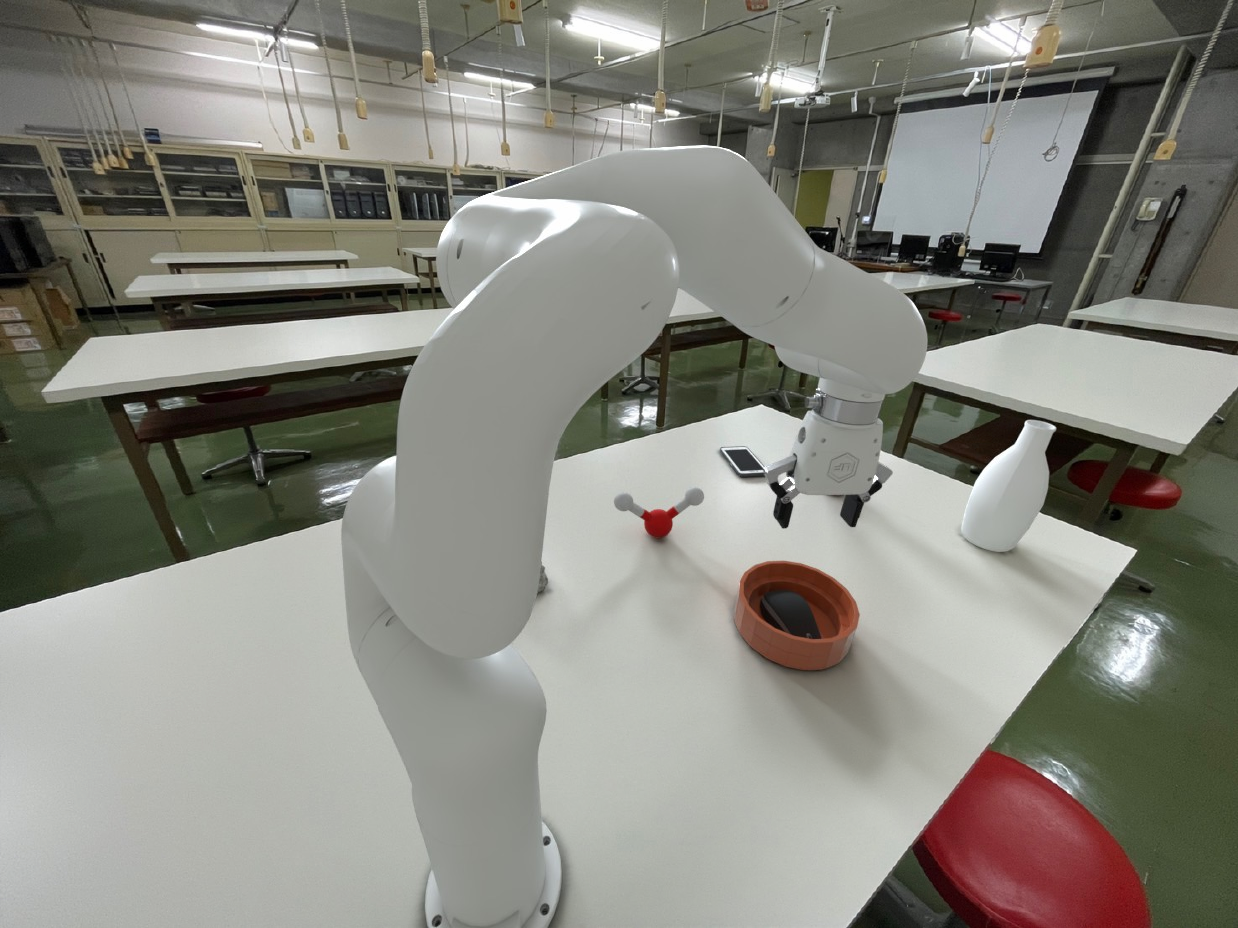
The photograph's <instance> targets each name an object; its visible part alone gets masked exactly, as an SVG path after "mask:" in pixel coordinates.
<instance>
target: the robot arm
mask: <svg viewBox="0 0 1238 928" xmlns="http://www.w3.org/2000/svg"><path fill="white" fill-rule="evenodd" d="M435 255H436V256H435V265H436V274H437V280H438V283H439V286H440V290H441V292H442V293H443V296H444V298H445V300H446V302H447V303H448V304H449V306H451V308H452V309H453V310H452V311H451V312H450V313H449V314H448V315H447V316H446V318H445V319H444V320H443V321H442V322H441V323H440V325H439V326H438V327H437V329H436V330H435V331H434V332H433V334H432V335H431V336H430V337H429V339H428V340H427V342H426V343H425V345H424V346H423V347H422V349H421V351H420V352H419V353H418V355H417V357H416V359H415V360H414V363H413V364H412V367H411V369H410V371H409V373H408V376H407V378H406V381H405V384H404V387H403V390H402V393H401V397H400V403H399V408H398V415H397V427H396V452H395V453H396V455H393V456H391V457H388V458H386V459H384V460H382V461H381V462H379V463H378V464H376V465H375V466H373V467H372V468H370V469H369V470H368V471H367V472H366V473H365V474H364V476H363V475H362V478H361V479H360V480H359V481H358V482H357V484H356V485H355V486H354V488H353V489H352V491H351V493H350V495H349V497H348V500H347V502H346V505H345V508H344V511H343V514H342V521H341V529H340V531H341V532H340V533H341V535H340V536H341V537H340V538H341V557H342V571H343V584H344V598H345V599H344V601H345V613H346V623H347V634H348V639H349V645H350V649H351V653H352V656H353V659H354V661H355V664H356V666H357V668H358V670H359V672H360V675H361V677H362V679H363V680H364V683H365V685H366V687H367V689H368V691H369V693H370V695H371V696H372V699H373V701H374V702H375V705H376V706H377V710H378V713H379V715H380V717H381V719H382V721H383V723H384V725H385V727H386V729H387V730H388V732H389V735H390V737H391V739H392V741H393V744H394V745H395V748H396V749H397V752H398V755H399V756H400V759H401V761H402V763H403V766H404V768H405V771H406V773H407V775H408V778H409V782H410V784H411V799H412V804H413V809H414V813H415V816H416V821H417V823H418V827H419V831H420V833H421V836H422V839H423V843H424V846H425V849H426V853H427V857H428V860H429V864H430V866H431V867H430V868H431V870H430V872H429V875H428V878H427V879H428V880H427V884H426V888H425V894H424V913H425V919H426V926H427V928H549V926H550V924H551V921H552V920H553V918H554V916H555V914H556V911H557V907H558V904H559V901H560V895H561V890H562V880H563V879H562V876H563V875H562V860H561V855H560V850H559V847H558V844H557V841H556V839H555V837H554V835H553V833H552V832H551V831H550V829H549V827H548V826H547V825H546V823H545V822H544V821H543V818H542V803H541V790H540V776H539V775H540V774H539V750H540V744H541V740H542V736H543V732H544V729H545V725H546V722H547V721H546V720H547V711H548V710H547V701H546V700H547V699H546V696H545V692H544V690H543V688H542V685H541V683H540V681H539V679H538V678H537V676H536V674H535V673H534V671H533V669H532V668H531V666H530V665H529V663H528V662H527V661H526V660H525V658H524V657H523V656H522V654H521V653H520V652H519V651H518V649H516V647H515V646H514V645H513V644H512V643H514V641H515V640H516V639H517V638H518V636H519V635H520V634H521V633H522V631H523V630H524V628H525V626H526V625H527V623H528V622H529V620H530V618H531V615H532V612H533V608H534V606H535V604H536V600H537V595H538V593H537V592H538V585H539V578H540V569H541V561H543V559H542V558H543V550H544V540H545V532H546V521H547V513H548V503H549V495H550V494H549V493H550V485H551V480H552V474H553V468H554V462H555V458H556V457H555V456H556V453H557V450H558V447H559V443H560V440H561V439H562V436H563V434H564V432H565V430H566V428H567V427H568V425H569V424H570V423H571V421H572V419H573V418H574V417H575V415H576V414H577V413H578V411H579V410H580V409H581V408H582V407H583V406H584V405H585V404H586V403H587V402H588V400H589V399H590V398H591V397H592V396H593V395H594V394H595V393H597V391H599V390H600V388H602V387H603V386H604V385H605V384H606V383H608V382H609V381H610V380H611V379H613V378H614V377H616V376H617V374H619V373H620V372H621V371H623V370H624V369H625V368H627V367H628V366H629V365H631V364H632V363H633V362H635V361H636V359H638V358H639V357H640V356H641V355H642V354H644V353H645V352H646V351H647V350H648V349H649V348H650V347H651V346H652V345H653V343H654V342H655V341H656V340H657V338H658V337H659V335H660V333H661V332H662V330H663V329H664V328H665V326H666V325H667V322H668V320H669V319H670V316H671V313H672V311H673V309H674V306H675V303H676V300H677V294H678V290H679V289H680V290H682V291H684V292H685V293H687V294H688V295H690V296H691V297H693V298H694V299H696V300H697V301H699V302H700V303H702V304H703V305H705V307H707V308H709V309H710V310H712V311H713V312H714V313H716V314H717V315H719V317H722V318H723V319H725V320H726V321H728V322H729V323H730V324H731V325H733V326H734V327H736V328H737V329H738V330H740V331H741V332H743V333H745V334H746V335H748V336H750V337H752V338H754V339H755V340H756V339H757V340H759V341H761V342H764V343H767V344H769V345H772V346H774V350H775V353H776V356H777V357H778V359H779V360H780V361H781V362H782V364H784V365H785V366H786V367H787V368H790V369H791V370H794V371H797V372H800V373H803V374H807V375H810V376H813V377H817V378H819V379H818V383H817V388H815V391H814V395H812V396H806V397H805V398H804V407H805V408H806V409H807V408H809V409H811V410H808V411H807V410H806V411H807V412H806V414H805V415H804V417H803V419H802V421H801V423H800V425H799V428H798V430H797V432H796V435H795V437H794V441H793V443H792V446H791V448H790V449H791V450H790V453H789V456H787V457H785V458H782V459H780V460H778V461H775V462H773V463H772V464H769V465H767V466H765V468H764V469H763V472H764V475H765V476H764V478H765V480H766V484H767V485H768V487H769V488H770V489H771V491H772V492H773V493H774V495H775V496H776V499H775V502H774V508H773V511H772V516H773V518H774V519H775V521H777V523H778V525H779V526H780V527H781V529H787V528H789V525H790V521H791V517H792V514H793V509H794V503H793V502H792V500H794V499H795V498H797V496H798V495H800V494H802V495H804V496H805V495H806V496H833V495H840V496H844V500H843V503H842V506H841V510H840V513H839V516H840V518H841V519H842V520H843V521H844V522H845V524H847V525H848V527H850V528H856V527H857V524H858V521H859V519H860V517H861V514H862V510H863V508H864V505H865V503H868V502H870V501H871V499H872V498H871V496H873V495H874V494H876V493H877V492H878V491H879V492H880V490H881V489H882V488H883V484H885V483H886V482H887V481H888V480H889V479H890V477H891V476H892V475H893V470H892V469H891V468H890V467H888V466H887V465H885V464H884V463H882V462H880V456H881V451H882V445H883V444H882V443H883V431H884V422H883V420H881V419H880V418H879V417H880V414H881V409H882V407H883V405H884V401H885V397H886V395H892V394H895V393H898V392H900V391H902V390H903V389H906V388H907V387H908V386H909V385H910V384H911V383H912V382H913V381H914V380H915V378H916V377H917V376H918V374H919V373H920V371H921V370H922V367H923V365H924V362H925V360H926V356H927V351H928V331H927V328H926V324H925V322H924V320H923V316H922V315H921V313H920V312H919V310H918V308H917V306H916V305H915V303H914V302H913V301H912V300H911V299H910V297H908V296H907V295H906V294H905V293H903V292H902V291H901V290H899V289H898V288H896V287H895V286H893V285H891V284H890V283H888V282H886V281H884V280H882V279H880V278H879V277H876V276H875V275H872V274H871V273H869V272H866V271H865V270H864V269H861V268H859V267H857V266H856V265H854V264H852V263H850V261H849V262H848V261H847V260H845V259H844V258H841V257H839V256H837V255H835V254H832V253H831V252H828V251H827V250H824V249H822V248H820V247H819V246H818V245H817V244H816V243H815V241H814V240H813V239H812V238H811V237H810V235H809V234H808V233H807V231H806V230H805V229H804V228H803V226H802V225H801V224H800V223H799V222H798V220H797V218H796V217H795V216H794V215H793V214H792V212H791V211H790V210H789V209H788V207H787V206H786V204H785V203H784V202H783V201H782V200H781V199H780V197H779V195H777V193H776V192H775V191H774V190H773V188H772V187H771V186H770V184H769V183H768V182H767V181H766V179H765V178H764V177H763V176H762V175H761V173H760V172H759V171H758V170H757V169H756V167H755V166H754V165H753V164H752V163H751V162H750V161H748V159H746V158H745V157H744V156H742V155H740V154H739V153H737V152H735V151H733V150H731V149H728V148H723V147H720V146H715V145H714V146H713V145H685V146H684V145H682V146H670V147H666V146H665V147H650V148H647V147H646V148H629V149H624V150H618V151H616V152H611V153H607V154H604V155H601V156H597V157H594V158H592V159H588V160H586V161H583V162H580V163H577V164H575V165H571V166H569V167H566V168H562V169H560V170H557V171H554V172H552V173H548V174H545V175H542V176H539V177H536V178H534V179H530V180H527V181H524V182H520V183H518V184H514V185H511V186H508V187H506V188H502V189H499V190H496V191H494V192H493V191H492V192H491V193H487V194H485V195H482V196H479V197H478V198H475V199H473V200H471V201H469V202H467V203H466V204H465V205H464V206H463V207H461V208H459V210H457V211H456V212H455V213H454V215H452V217H451V218H450V219H449V220H448V222H447V223H446V225H445V227H444V228H443V230H442V232H441V234H440V238H439V241H438V244H437V247H436V254H435ZM783 474H785V475H786V477H785V478H784V479H783V480H781V482H780V481H779V477H780V476H781V475H783ZM546 844H547V845H546ZM545 911H546V913H547V914H543V913H544V912H545ZM438 923H439V925H438V926H436V925H437V924H438Z"/></svg>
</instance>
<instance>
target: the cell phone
mask: <svg viewBox="0 0 1238 928" xmlns="http://www.w3.org/2000/svg"><path fill="white" fill-rule="evenodd" d="M719 452H720V453H721V455H722V456H723V457H724V459H725V460H726V461H727V462H728V463H729V465H730V467H731V468H732V469H733V470H734V471H735V473H736V475H737V476H739V477H742V478H746V477H763V476H764V477H765V475H764V472H763V469H764V468H765V467H766V466H765V465H764V464H763V463H762V462H761V461H760V459H759V458H758V457H757V456H756V455H755V454H754V453H753V452H752V451H751V450H750V448H749V447H748V446H747V445H745V446H744V445H739V446H738V445H737V446H721V447H719Z"/></svg>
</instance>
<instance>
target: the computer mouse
mask: <svg viewBox="0 0 1238 928" xmlns="http://www.w3.org/2000/svg"><path fill="white" fill-rule="evenodd" d="M760 609H761V613H762V615H763V618H764V619H765V621H766V622H767V623H768V624H770V625H771V626H773V627H774V628H776V629H778V630H781V631H783V632H786V633H788V634H790V635H793V636H798V637H803V638H808V639H822V638H821V635H820V632H819V629H818V626H817V623H816V620H815V618H814V615H813V613H812V610H811V608H810V606H809V604H808V603H807V601H806V600H805V599H804V598H803V597H802V596H801V595H799V594H797V593H796V592H793V591H790V590H776V591H771V592H768V593H766V594H764V595H763V597H762V598H761V601H760Z"/></svg>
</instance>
